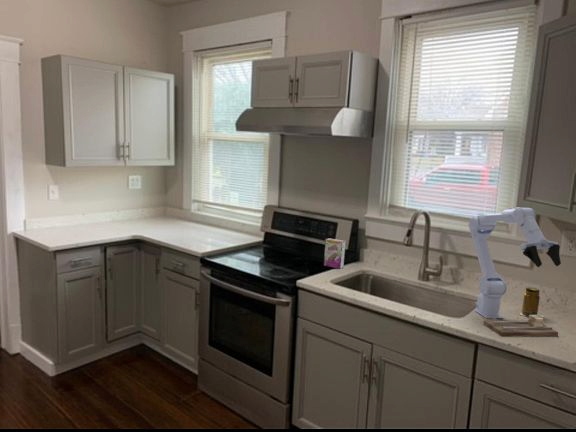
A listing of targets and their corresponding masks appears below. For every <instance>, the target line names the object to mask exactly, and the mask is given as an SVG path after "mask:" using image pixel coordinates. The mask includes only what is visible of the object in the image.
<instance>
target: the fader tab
mask: <svg viewBox="0 0 576 432" xmlns="http://www.w3.org/2000/svg"><path fill="white" fill-rule="evenodd" d="M527 321H528V324H529V325H531V326H532V327H542V326H543V324H544V317H543V318H541V317H539V316H537V315H529V317H528V320H527Z"/></svg>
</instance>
